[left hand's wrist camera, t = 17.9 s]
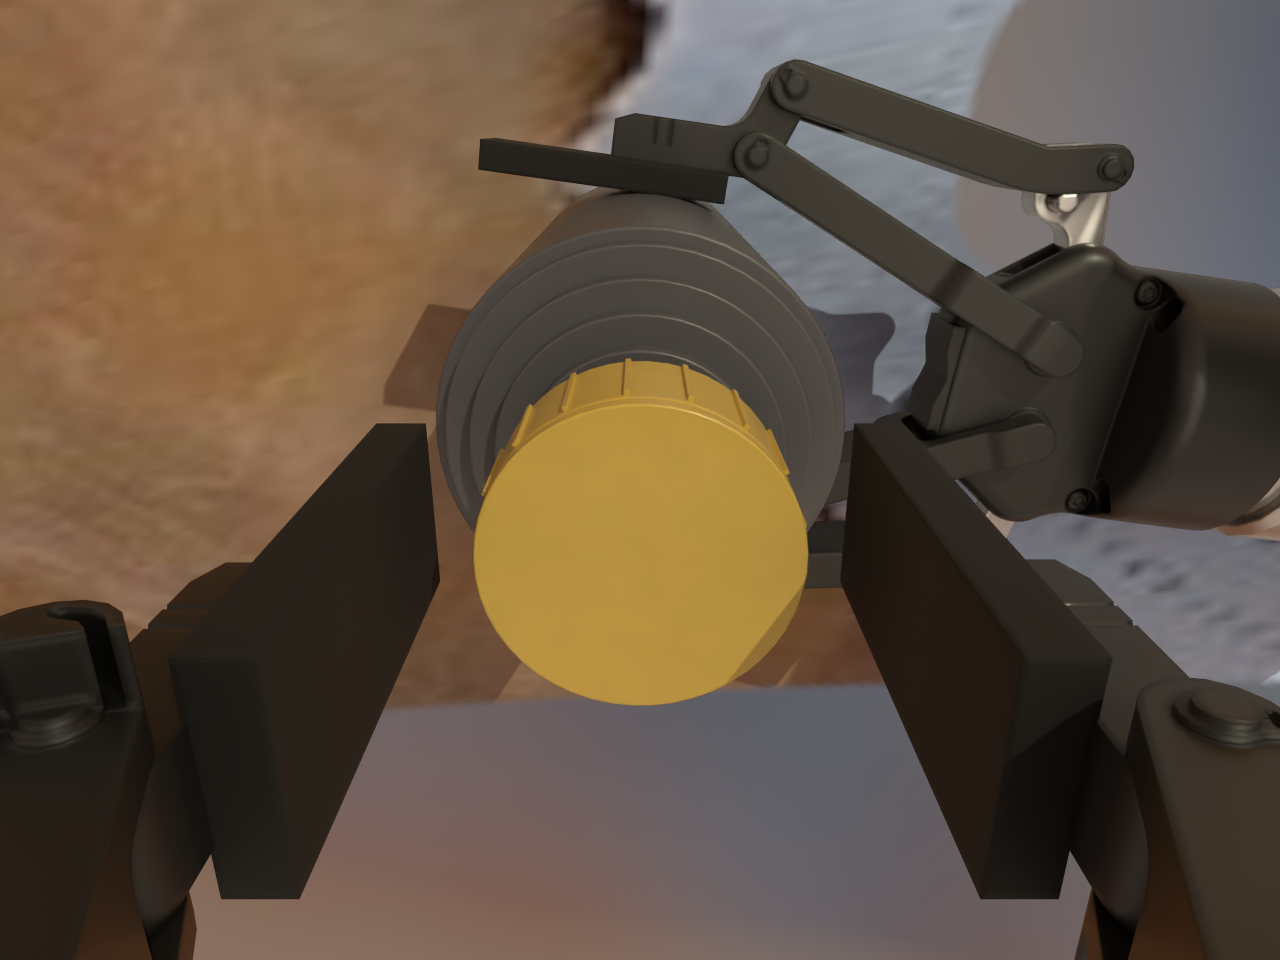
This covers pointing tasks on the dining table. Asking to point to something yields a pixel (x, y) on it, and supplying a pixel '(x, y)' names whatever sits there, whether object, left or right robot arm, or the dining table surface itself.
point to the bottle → (640, 334)
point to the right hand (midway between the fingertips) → (477, 309)
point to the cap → (640, 536)
